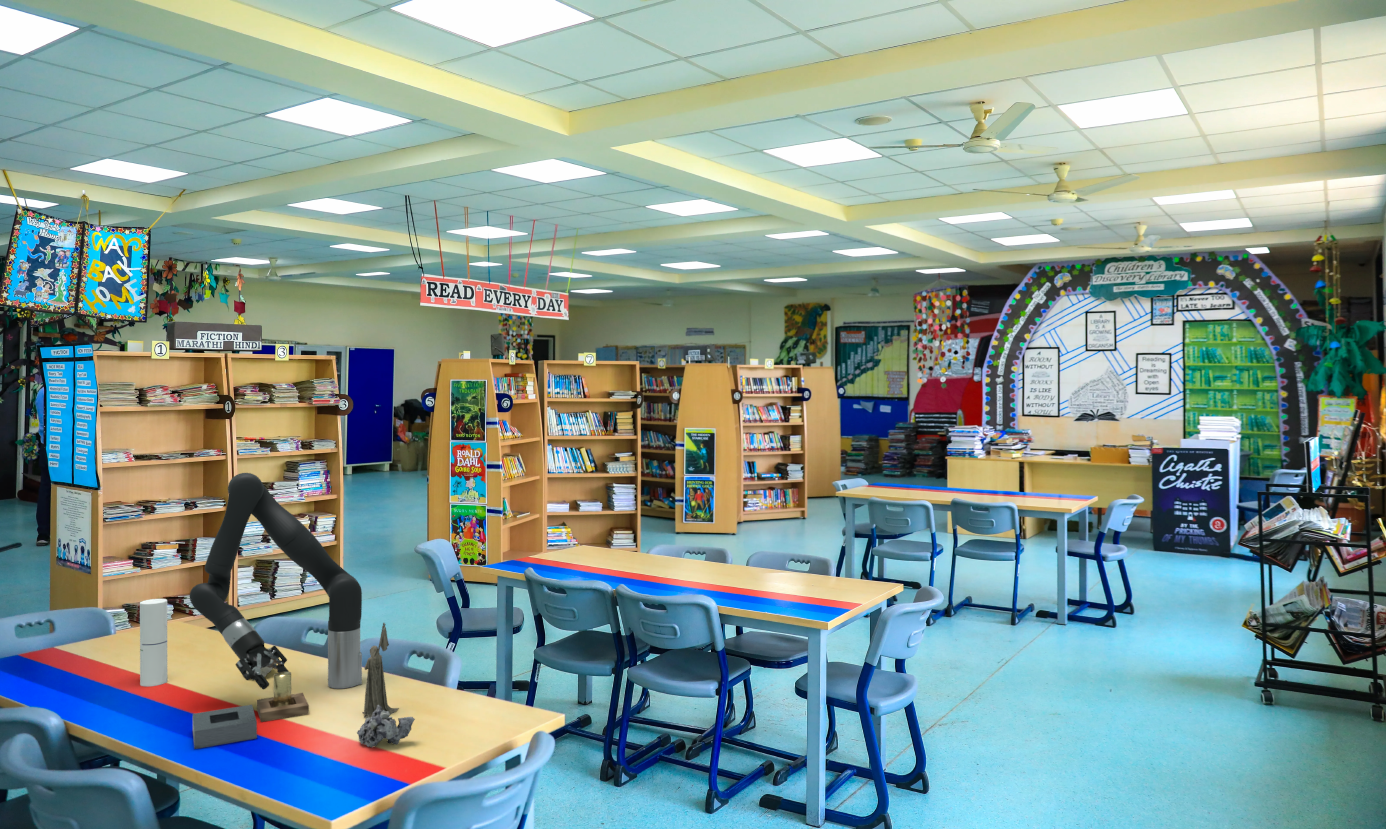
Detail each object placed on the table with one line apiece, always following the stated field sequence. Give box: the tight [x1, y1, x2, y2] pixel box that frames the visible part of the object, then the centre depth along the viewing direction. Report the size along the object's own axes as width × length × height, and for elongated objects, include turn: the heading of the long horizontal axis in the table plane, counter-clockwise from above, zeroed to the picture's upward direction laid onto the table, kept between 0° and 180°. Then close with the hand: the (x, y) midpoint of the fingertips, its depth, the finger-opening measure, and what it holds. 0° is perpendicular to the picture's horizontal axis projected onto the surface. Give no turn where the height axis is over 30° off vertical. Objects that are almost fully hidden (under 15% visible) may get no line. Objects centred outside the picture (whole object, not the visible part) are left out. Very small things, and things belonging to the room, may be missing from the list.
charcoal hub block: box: [192, 704, 258, 750], centre depth 230 cm, size 14×14×4 cm
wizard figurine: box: [362, 622, 400, 719], centre depth 247 cm, size 10×8×25 cm
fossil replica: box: [246, 646, 278, 678], centre depth 278 cm, size 12×8×10 cm
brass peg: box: [273, 671, 292, 707], centre depth 247 cm, size 4×4×10 cm
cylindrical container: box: [139, 598, 168, 687], centre depth 270 cm, size 7×7×25 cm
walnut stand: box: [256, 692, 310, 723], centre depth 247 cm, size 12×12×2 cm
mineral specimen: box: [356, 705, 416, 748], centre depth 225 cm, size 13×10×11 cm
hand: (277, 682), depth 247 cm, fingers open, 8 cm apart
